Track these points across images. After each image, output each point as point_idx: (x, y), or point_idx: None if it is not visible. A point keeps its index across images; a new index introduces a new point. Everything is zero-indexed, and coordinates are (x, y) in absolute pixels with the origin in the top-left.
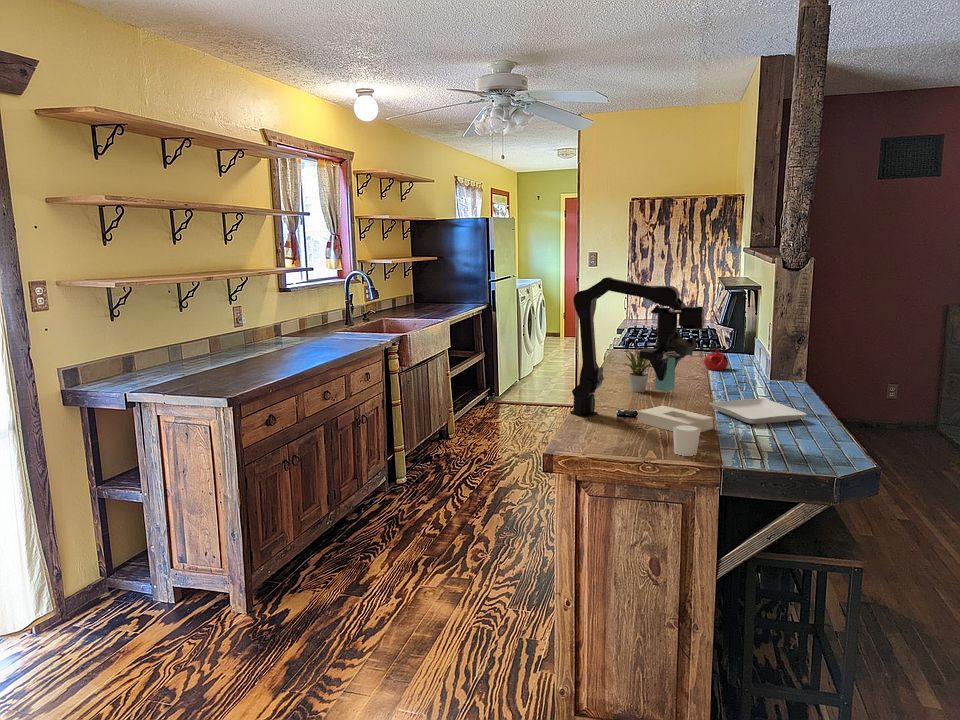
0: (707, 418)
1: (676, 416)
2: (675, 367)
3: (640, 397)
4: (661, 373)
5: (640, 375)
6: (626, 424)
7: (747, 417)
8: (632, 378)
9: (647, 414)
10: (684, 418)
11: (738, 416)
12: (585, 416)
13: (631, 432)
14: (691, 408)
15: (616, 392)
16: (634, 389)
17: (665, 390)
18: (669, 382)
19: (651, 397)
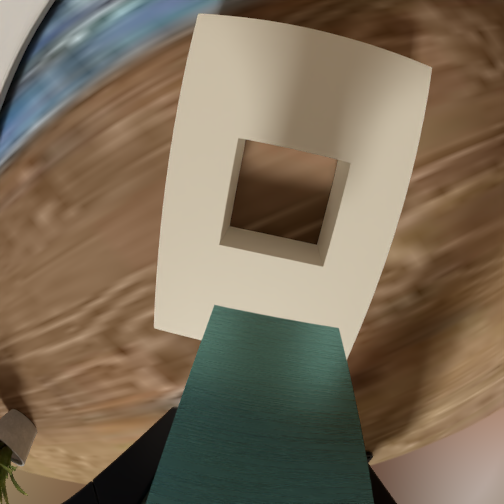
0: (243, 23)
1: (227, 213)
2: (86, 489)
3: (52, 411)
4: (388, 497)
5: (2, 444)
6: (390, 349)
7: (1, 43)
8: (24, 454)
9: (361, 318)
10: (339, 121)
11: (33, 31)
12: (367, 452)
13: (478, 286)
14: (10, 257)
15: (74, 455)
16: (32, 430)
17: (338, 338)
18: (294, 376)
19: (29, 389)
